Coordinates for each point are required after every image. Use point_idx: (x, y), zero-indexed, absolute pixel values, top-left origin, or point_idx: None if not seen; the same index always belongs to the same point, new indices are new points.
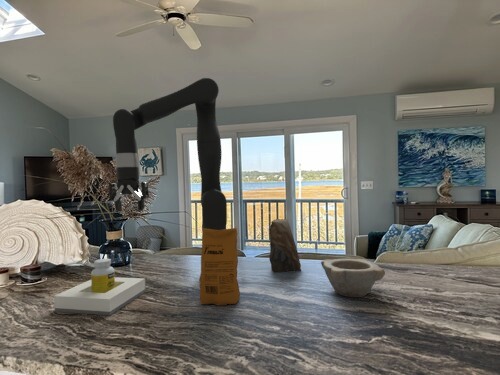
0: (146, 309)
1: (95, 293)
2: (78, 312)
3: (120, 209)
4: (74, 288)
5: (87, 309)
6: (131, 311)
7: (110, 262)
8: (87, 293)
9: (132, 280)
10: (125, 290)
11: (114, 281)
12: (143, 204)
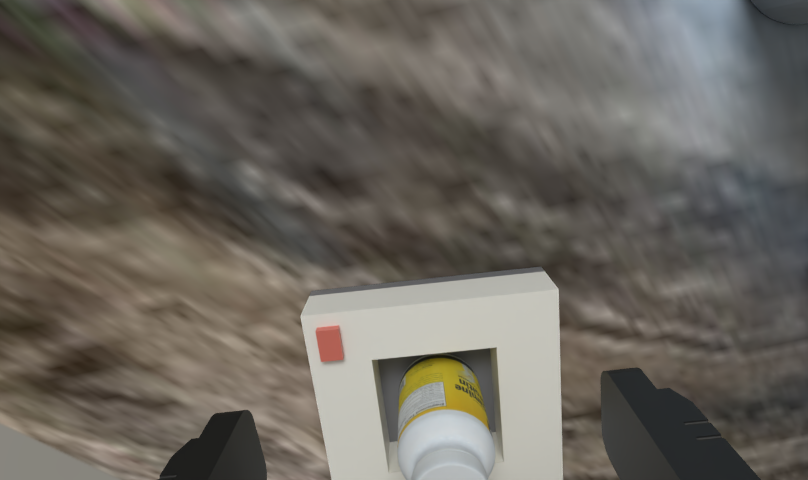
0: None
1: None
2: None
3: (246, 451)
4: (341, 452)
5: None
6: (598, 420)
7: (486, 474)
8: None
9: (516, 325)
10: (560, 418)
11: (480, 400)
12: (727, 461)
